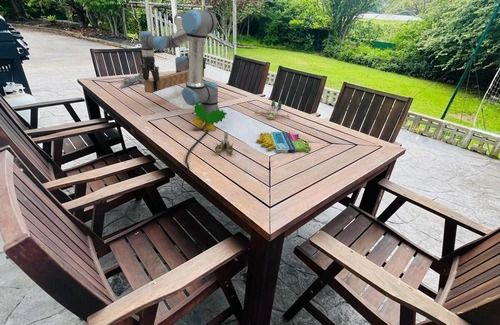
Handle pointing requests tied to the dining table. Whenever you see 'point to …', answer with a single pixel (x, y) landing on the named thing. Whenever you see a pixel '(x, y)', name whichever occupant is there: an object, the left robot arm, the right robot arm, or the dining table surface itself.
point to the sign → (283, 142)
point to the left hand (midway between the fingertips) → (199, 76)
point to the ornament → (207, 117)
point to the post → (167, 81)
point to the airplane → (132, 80)
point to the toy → (273, 111)
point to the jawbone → (224, 145)
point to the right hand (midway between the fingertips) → (152, 90)
